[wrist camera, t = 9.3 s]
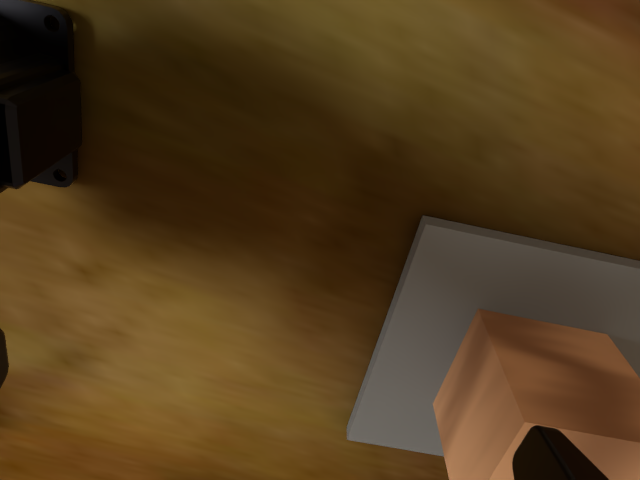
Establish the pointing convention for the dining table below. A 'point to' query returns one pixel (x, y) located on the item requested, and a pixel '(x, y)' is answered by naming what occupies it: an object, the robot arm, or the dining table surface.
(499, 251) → the mat
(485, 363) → the cube
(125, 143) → the dining table surface
